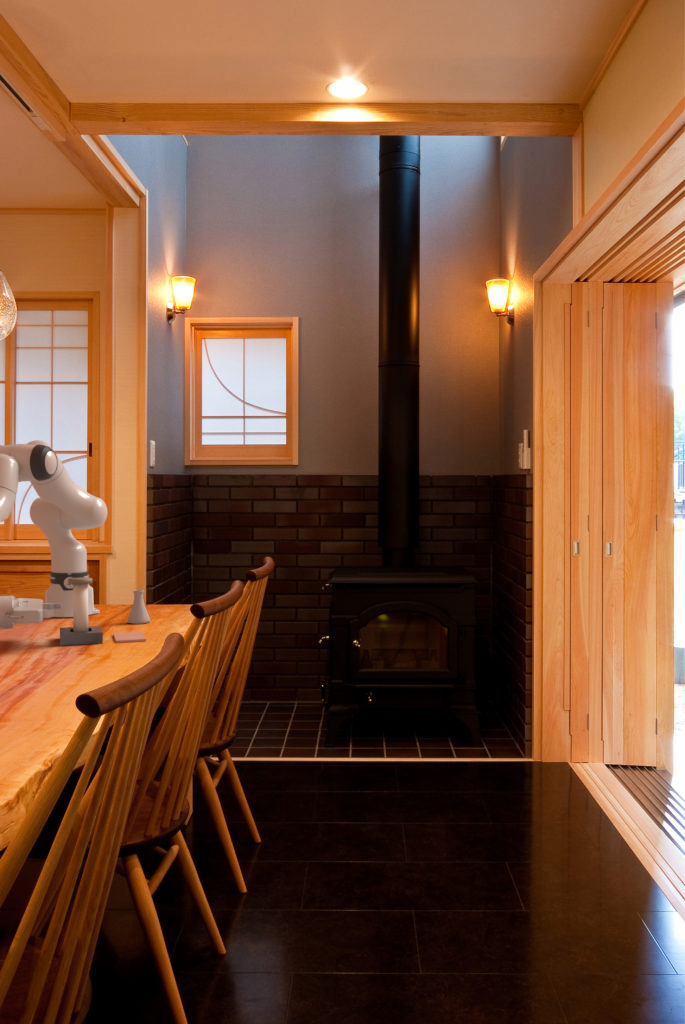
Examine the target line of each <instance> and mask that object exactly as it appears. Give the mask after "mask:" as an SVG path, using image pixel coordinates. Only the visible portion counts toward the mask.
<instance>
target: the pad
mask: <svg viewBox="0 0 685 1024" xmlns="http://www.w3.org/2000/svg"><path fill="white" fill-rule="evenodd" d="M112 636H113V638H114V641H115V643H116V644H119V643H121V644H122V643H123V644H124V643H137V642H140V641H141V642H147V638H146V636H145V635H144V633H143V631H130V632H129V631H128V632H127V631H126V632H112ZM141 642H140V643H141Z"/></svg>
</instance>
